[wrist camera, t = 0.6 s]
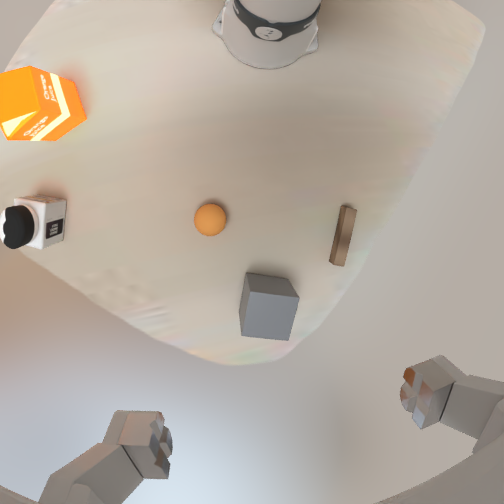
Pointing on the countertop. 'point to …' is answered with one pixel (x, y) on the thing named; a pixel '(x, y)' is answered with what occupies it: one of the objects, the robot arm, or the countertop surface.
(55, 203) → the container
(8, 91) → the orange juice
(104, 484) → the robot arm
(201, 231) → the ball
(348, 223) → the bar
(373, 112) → the countertop surface
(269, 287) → the matte gray box
